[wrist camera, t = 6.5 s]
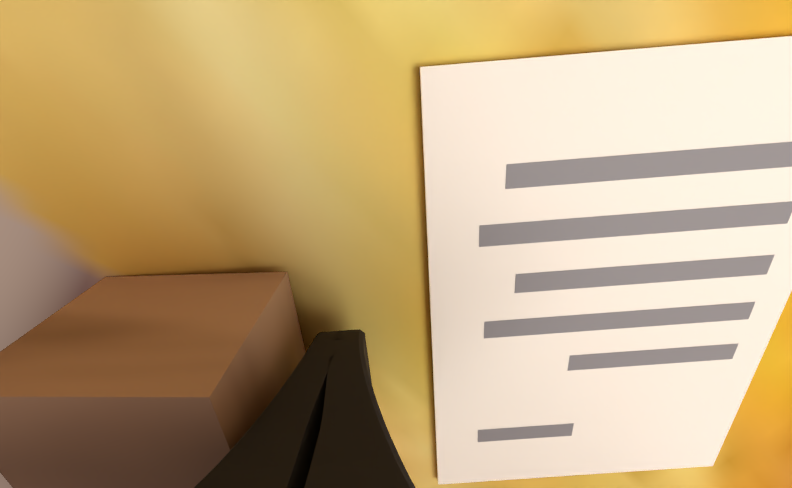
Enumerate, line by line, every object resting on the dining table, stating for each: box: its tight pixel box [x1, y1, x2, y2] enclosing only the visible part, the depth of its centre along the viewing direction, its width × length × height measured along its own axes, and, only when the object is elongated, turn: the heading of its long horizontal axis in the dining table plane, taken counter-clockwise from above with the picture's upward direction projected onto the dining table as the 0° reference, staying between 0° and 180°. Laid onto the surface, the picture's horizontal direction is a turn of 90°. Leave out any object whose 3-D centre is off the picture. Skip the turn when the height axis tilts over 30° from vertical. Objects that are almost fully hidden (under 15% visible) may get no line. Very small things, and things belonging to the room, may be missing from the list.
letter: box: [420, 36, 792, 484], centre depth 11 cm, size 14×10×1 cm
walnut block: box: [0, 272, 306, 488], centre depth 9 cm, size 5×5×4 cm
